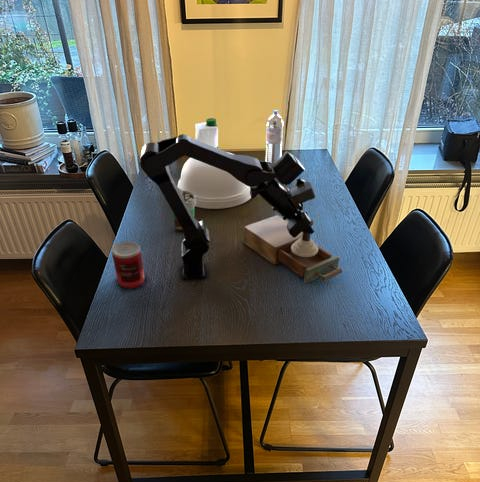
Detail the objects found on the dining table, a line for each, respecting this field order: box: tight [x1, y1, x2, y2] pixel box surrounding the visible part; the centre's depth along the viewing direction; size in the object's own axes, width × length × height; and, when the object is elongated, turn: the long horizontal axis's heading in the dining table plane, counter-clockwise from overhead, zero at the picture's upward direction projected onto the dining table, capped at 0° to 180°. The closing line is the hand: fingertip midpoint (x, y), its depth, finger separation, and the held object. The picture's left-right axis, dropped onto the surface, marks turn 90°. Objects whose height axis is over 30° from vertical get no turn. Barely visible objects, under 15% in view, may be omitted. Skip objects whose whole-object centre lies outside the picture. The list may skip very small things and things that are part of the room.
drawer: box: [277, 242, 343, 284], centre depth 134 cm, size 19×12×4 cm, turn 36°
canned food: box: [111, 241, 146, 289], centre depth 127 cm, size 8×8×11 cm
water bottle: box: [264, 109, 285, 165], centre depth 186 cm, size 7×7×25 cm
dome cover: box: [176, 151, 252, 210], centre depth 174 cm, size 32×30×14 cm
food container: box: [171, 191, 196, 232], centre depth 153 cm, size 12×6×10 cm, turn 168°
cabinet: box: [243, 214, 302, 265], centre depth 144 cm, size 16×14×6 cm
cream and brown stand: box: [291, 218, 318, 257], centre depth 131 cm, size 8×8×9 cm
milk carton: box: [194, 117, 219, 149], centre depth 190 cm, size 9×9×20 cm
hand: (311, 229), depth 129 cm, fingers closed on cream and brown stand, 3 cm apart
